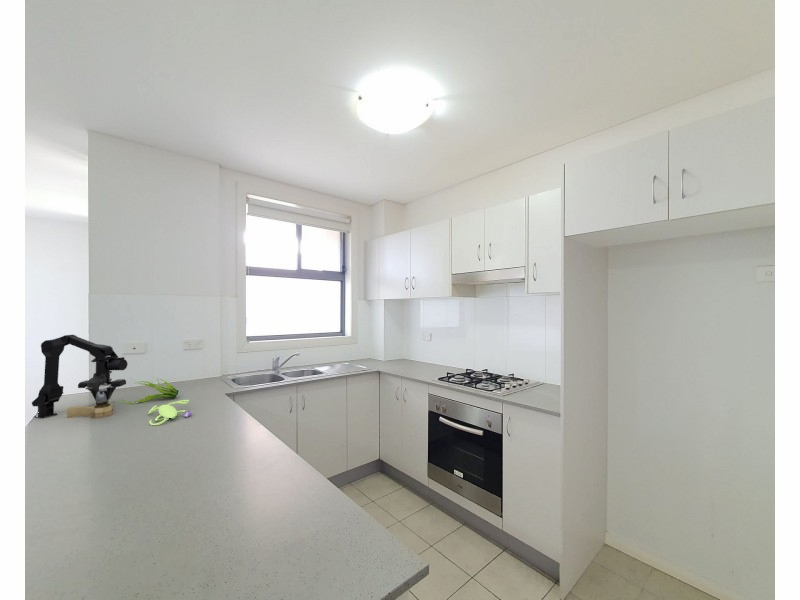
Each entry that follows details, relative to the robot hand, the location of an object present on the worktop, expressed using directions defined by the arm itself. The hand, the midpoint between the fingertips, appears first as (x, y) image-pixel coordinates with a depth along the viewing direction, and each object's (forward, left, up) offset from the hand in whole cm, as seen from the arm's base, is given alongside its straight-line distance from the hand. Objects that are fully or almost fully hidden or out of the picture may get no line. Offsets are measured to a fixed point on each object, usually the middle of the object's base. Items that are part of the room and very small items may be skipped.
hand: (102, 399), depth 170 cm
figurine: (+33, +12, -9) cm, 36 cm away
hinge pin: (0, 0, -2) cm, 2 cm away
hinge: (-4, 0, -8) cm, 9 cm away
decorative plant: (-3, +24, -8) cm, 26 cm away
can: (-20, +12, -8) cm, 25 cm away
